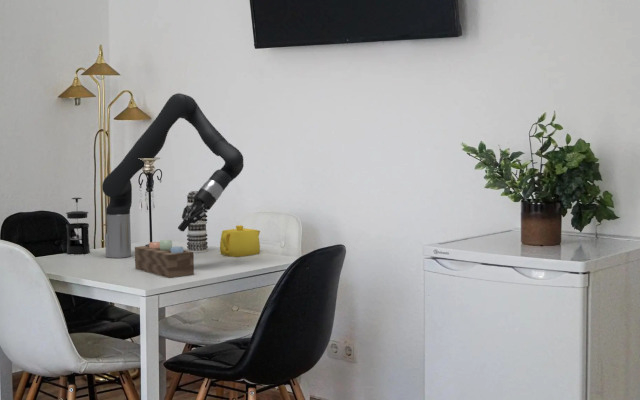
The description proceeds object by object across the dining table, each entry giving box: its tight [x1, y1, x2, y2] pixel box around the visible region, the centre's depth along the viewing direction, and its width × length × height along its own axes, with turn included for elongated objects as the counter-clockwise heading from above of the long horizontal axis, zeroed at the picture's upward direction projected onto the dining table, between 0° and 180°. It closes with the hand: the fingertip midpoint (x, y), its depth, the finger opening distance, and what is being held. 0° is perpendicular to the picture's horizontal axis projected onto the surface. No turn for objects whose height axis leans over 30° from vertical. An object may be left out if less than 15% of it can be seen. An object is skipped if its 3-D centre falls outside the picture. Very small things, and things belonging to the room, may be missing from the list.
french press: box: [65, 197, 91, 255], centre depth 352 cm, size 12×9×23 cm
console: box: [134, 245, 195, 279], centre depth 308 cm, size 25×10×8 cm, turn 39°
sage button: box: [159, 239, 173, 251], centre depth 308 cm, size 4×4×6 cm
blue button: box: [171, 246, 184, 253], centre depth 302 cm, size 4×4×6 cm
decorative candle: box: [185, 190, 209, 253], centre depth 355 cm, size 9×9×25 cm
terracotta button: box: [148, 241, 160, 248], centre depth 314 cm, size 4×4×6 cm
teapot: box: [219, 224, 261, 258], centre depth 348 cm, size 20×12×12 cm, turn 137°
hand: (180, 229), depth 311 cm, fingers closed
